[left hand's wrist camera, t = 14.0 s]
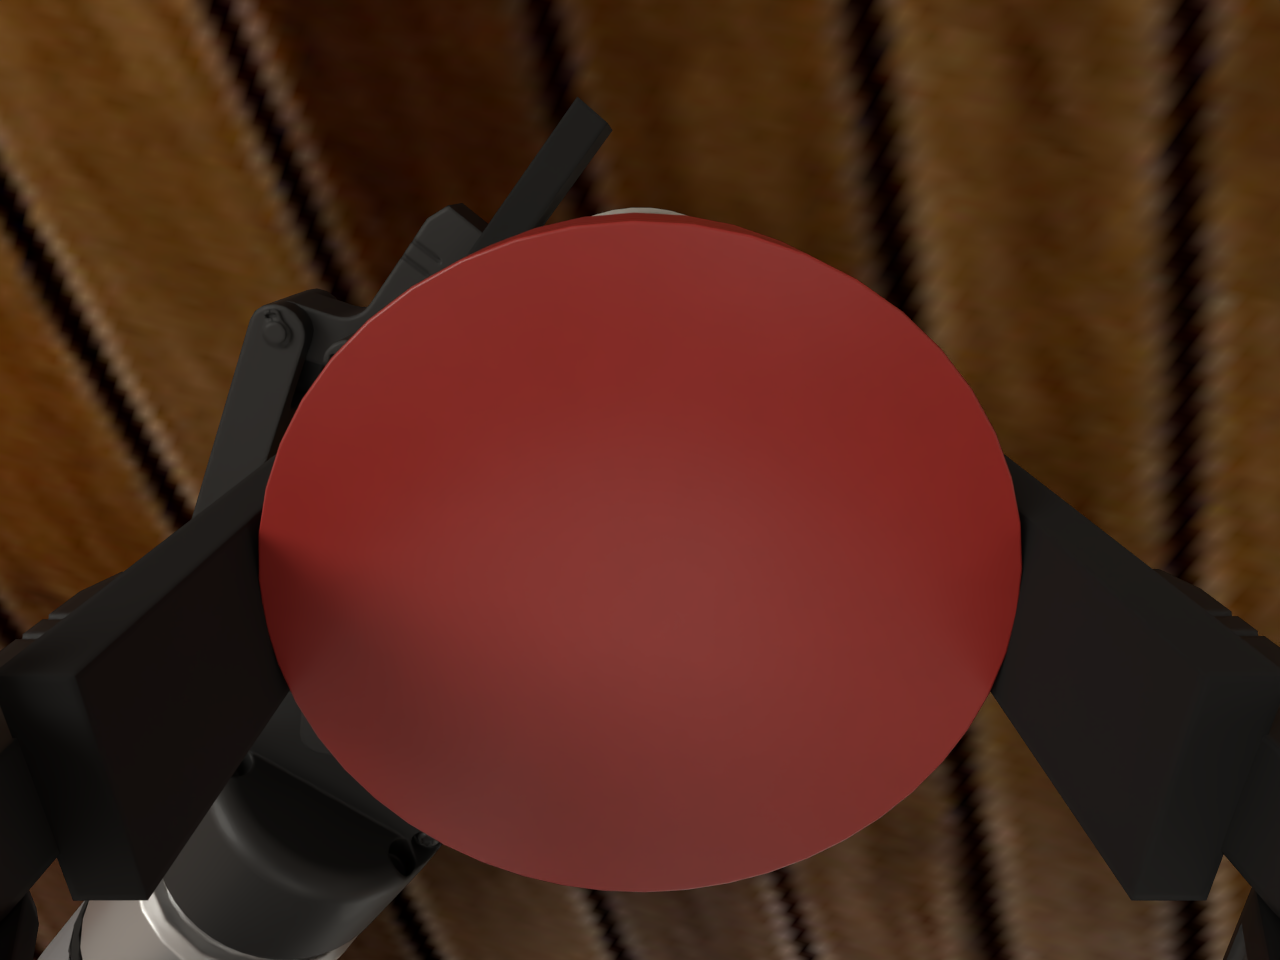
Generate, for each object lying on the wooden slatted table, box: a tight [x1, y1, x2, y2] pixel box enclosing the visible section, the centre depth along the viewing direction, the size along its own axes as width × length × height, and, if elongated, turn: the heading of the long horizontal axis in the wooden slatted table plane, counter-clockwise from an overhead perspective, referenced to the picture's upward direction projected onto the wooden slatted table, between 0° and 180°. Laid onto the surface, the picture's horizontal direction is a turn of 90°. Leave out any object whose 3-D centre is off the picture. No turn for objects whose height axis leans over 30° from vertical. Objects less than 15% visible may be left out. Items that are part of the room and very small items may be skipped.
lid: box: [259, 213, 1022, 892], centre depth 11 cm, size 10×10×2 cm
